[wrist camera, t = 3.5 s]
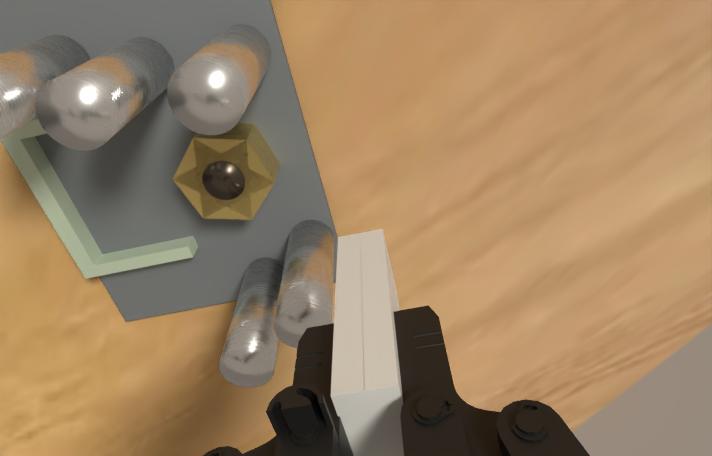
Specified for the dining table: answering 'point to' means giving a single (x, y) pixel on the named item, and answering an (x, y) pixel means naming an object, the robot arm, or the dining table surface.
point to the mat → (175, 153)
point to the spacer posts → (202, 115)
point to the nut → (228, 173)
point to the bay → (69, 220)
